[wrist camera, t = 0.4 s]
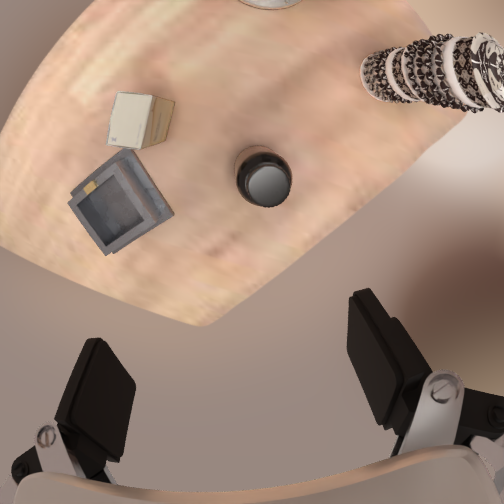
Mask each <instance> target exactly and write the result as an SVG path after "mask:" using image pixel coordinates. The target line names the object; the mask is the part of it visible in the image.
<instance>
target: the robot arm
mask: <svg viewBox="0 0 504 504" xmlns="http://www.w3.org/2000/svg"><path fill="white" fill-rule="evenodd" d="M240 1H241V2H243V3H245V4H247V5H250V6H253V7H256V8H261V9H283V8H287V7H291V6H293V5H295V4H297V3H299V2H300V1H302V0H240ZM285 2H287V3H288V4H287V3H285ZM347 335H348V336H347V352H348V355H349V357H350V360H351V362H352V365H353V367H354V369H355V371H356V374H357V376H358V378H359V381H360V383H361V386H362V388H363V390H364V393H365V395H366V398H367V400H368V402H369V405H370V407H371V410H372V412H373V415H374V417H375V420H376V422H377V424H378V425H383V427H384V430H388V429H390V428H393V430H394V432H395V434H396V435H398V436H397V438H396V441H395V443H394V445H393V448H392V450H391V452H390V455H389V457H388V459H385V460H382V461H379V462H375V463H372V464H369V465H366V466H363V467H360V468H357V469H353V470H350V471H347V472H343V473H339V474H335V475H331V476H327V477H323V478H319V479H315V480H311V481H306V482H301V483H295V484H290V485H284V486H277V487H270V488H262V489H253V490H242V491H227V492H175V491H160V490H150V489H141V488H134V487H127V486H121V485H118V484H117V482H116V481H115V479H114V478H113V476H112V474H111V473H110V471H109V469H108V467H107V466H106V460H108V461H110V462H118V463H119V461H120V457H121V456H122V455H123V453H124V447H125V441H126V435H127V430H128V425H129V419H130V414H131V410H132V404H133V400H134V396H135V391H136V384H135V382H134V380H133V379H132V378H131V376H130V375H129V374H128V372H127V371H126V369H125V368H124V367H123V365H122V364H121V363H120V361H119V360H118V358H117V357H116V356H115V354H114V353H113V351H112V350H111V348H110V347H109V345H108V344H107V342H105V341H103V339H101V338H90V339H87V340H86V342H85V344H84V346H83V349H82V351H81V353H80V355H79V357H78V360H77V362H76V364H75V366H74V369H73V371H72V374H71V376H70V378H69V381H68V383H67V386H66V389H65V391H64V393H63V396H62V399H61V401H60V404H59V407H58V410H57V413H56V415H55V418H54V419H55V420H56V421H57V422H58V424H57V425H55V424H54V423H52V422H46V423H43V424H42V425H41V426H39V428H38V429H37V431H36V433H35V438H34V442H35V446H33V447H32V448H31V449H29V450H28V451H26V452H25V453H24V454H22V455H21V456H19V457H18V458H17V459H16V460H15V461H14V463H13V465H12V470H11V473H12V476H11V475H9V477H8V478H7V479H6V481H5V482H4V483H3V485H2V486H1V487H0V504H504V397H503V396H498V395H494V394H489V393H485V392H480V391H476V390H472V389H468V388H464V384H463V381H462V379H461V378H460V377H459V375H457V374H456V373H455V372H453V371H450V370H438V371H435V372H432V370H431V368H430V367H429V365H428V363H427V362H426V360H425V359H424V357H423V356H422V354H421V352H420V351H419V349H418V348H417V346H416V345H415V343H414V342H413V340H412V339H411V337H410V336H409V334H408V333H407V331H406V330H405V328H404V327H403V325H402V324H401V323H400V321H399V320H398V319H397V318H395V317H392V318H390V316H389V315H388V313H387V312H386V311H385V309H384V308H383V306H382V305H381V303H380V302H379V300H378V299H377V298H376V296H375V295H374V293H373V292H372V291H371V289H370V288H366V289H362V290H359V291H355V292H354V293H353V296H352V297H350V298H349V311H348V333H347ZM478 454H480V455H481V456H483V457H484V458H486V462H488V463H489V464H491V465H492V466H493V467H494V470H495V478H494V481H493V479H492V477H491V475H490V473H489V471H488V469H487V468H486V466H485V464H484V463H483V461H482V460H481V458H480V457H479V456H478Z"/></svg>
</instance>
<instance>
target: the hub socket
mask: <svg viewBox="0 0 504 504" xmlns="http://www.w3.org/2000/svg"><path fill="white" fill-rule="evenodd" d="M71 195H72V196H73V198H72V199H71V200H70V201H69V202H68V205H69V206H70V208H71V209H72V211H73V212H74V213H75V215H76V216H77V218H78V219H79V221H80V222H81V224H82V225H83V226H84V228H85V229H86V231H87V232H88V233H89V235H90V236H91V237H92V239H93V240H94V242H95V243H96V244H97V246H98V247H99V248H100V249H101V251H102V252H103V253H104V255H105V256H107V255H108V254H110V253H111V252H112V253H113V254H115V253H116V252H118V251H119V250H121V249H122V248H124V247H125V246H127V245H128V244H130V243H131V242H133V241H134V240H136V239H137V238H139V237H140V236H142V235H144V234H145V233H147V232H148V231H150V230H151V229H153V228H155V227H156V226H158V225H159V224H161V223H163V222H164V221H166V220H168V219H169V218H171V217H173V216H174V212H173V211H172V209H171V208H170V206H169V205H168V203H167V202H166V200H165V199H164V197H163V196H162V194H161V193H160V191H159V190H158V188H157V187H156V185H155V184H154V182H153V181H152V179H151V178H150V176H149V174H148V173H147V171H146V170H145V168H144V167H143V165H142V164H141V162H140V160H139V159H138V157H137V156H136V154H135V152H134V151H133V149H127V148H123V149H122V150H121V151H119V152H118V153H117V154H116V155H114V156H113V157H112V158H110V159H109V160H108V161H107V162H105V163H104V164H103V165H102V166H101V167H99V168H98V169H97V170H96V171H94V172H93V173H92V174H91V175H90V176H89V177H87V178H86V179H85V180H84V181H83V182H82V183H81V184H79V185H78V186H77V187H76V188H75V189H74V190H73V191H72V192H71Z"/></svg>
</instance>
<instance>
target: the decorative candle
mask: <svg viewBox="0 0 504 504" xmlns="http://www.w3.org/2000/svg"><path fill="white" fill-rule="evenodd" d="M448 39H449V40H448ZM440 41H443V42H440ZM360 78H361V81H362V84H363V87H364V88H365V89H366V91H367V92H368V93H369V94H370V95H371V96H372V97H374V98H375V99H377V100H380V101H384V102H389V101H390V102H391V103H392V102H393V101H395V102H396V103H398V102H399V101H401V102H402V103H405V102H407V103H412V101H414V102H418V101H423V102H426V103H428V104H433V105H440V104H441V106H442V107H443V108H446V107H451V108H452V109H455V108H456V109H461V110H462V111H463V112H466V111H467V110H468V111H469V110H471V111H472V112H473V113H476V112H477V111H478V110H479V111H483V110H484V107H486V108H492V109H495V110H496V111H498V112H500V113H501V112H504V48H503V47H502V46H501V45H500V44H499V43H498V41H497V40H496V39H494V38H493V37H492V36H490V35H489V34H486V33H478V34H477V35H476V36H474V37H453V36H452V35H451V34H446V35H445V36H443V35H441V34H438V35H437V36H436V37H435V36H430V38H429V39H428V40H424V39H421V40H419V41H414V42H413V43H412V44H410V45H408V46H407V47H405V48H402V47H399V48H398V49H397V48H395V47H392V48H391V49H386V50H385V51H383V50H381V51H379V52H375V53H374V54H370V55H369V56H367V57H366V58H365V59H364V60H363V62H362V64H361V66H360ZM463 103H465V104H467V105H464V106H462V105H463Z"/></svg>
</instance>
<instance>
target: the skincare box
mask: <svg viewBox="0 0 504 504" xmlns="http://www.w3.org/2000/svg"><path fill="white" fill-rule="evenodd" d="M174 104H175V102H173V101H170V100H166V99H163V98H160V97H156V96H153V95H148V94H141V93H134V92H125V91H118V92H117V93H116V96H115V100H114V104H113V108H112V113H111V117H110V123H109V128H108V134H107V141H106V145H108V146H114V147H120V148H127V149H135V150H140V149H143V148H146V147H149V146H152V145H155V144H158V143H161V142H164V141H165V140H166V136H167V132H168V128H169V124H170V120H171V116H172V112H173V108H174Z"/></svg>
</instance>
